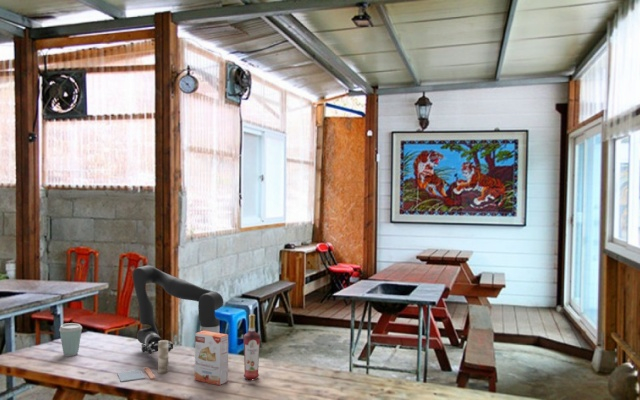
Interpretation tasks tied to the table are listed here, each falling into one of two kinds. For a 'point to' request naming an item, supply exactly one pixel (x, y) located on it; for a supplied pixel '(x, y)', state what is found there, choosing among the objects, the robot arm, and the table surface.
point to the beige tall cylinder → (163, 356)
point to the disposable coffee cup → (70, 338)
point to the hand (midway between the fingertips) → (160, 350)
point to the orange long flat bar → (149, 373)
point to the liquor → (251, 350)
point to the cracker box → (211, 357)
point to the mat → (130, 375)
